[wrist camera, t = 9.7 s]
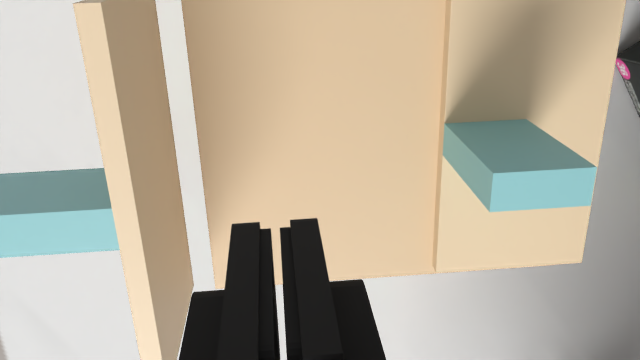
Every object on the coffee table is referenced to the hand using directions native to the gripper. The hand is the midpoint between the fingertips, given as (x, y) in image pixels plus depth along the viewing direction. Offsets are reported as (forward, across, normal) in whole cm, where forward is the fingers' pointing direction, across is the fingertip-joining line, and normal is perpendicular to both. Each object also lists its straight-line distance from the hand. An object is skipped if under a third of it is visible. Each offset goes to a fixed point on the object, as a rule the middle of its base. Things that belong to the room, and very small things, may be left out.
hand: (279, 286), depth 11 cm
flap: (+7, +4, +1) cm, 8 cm away
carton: (+22, -4, +1) cm, 22 cm away
